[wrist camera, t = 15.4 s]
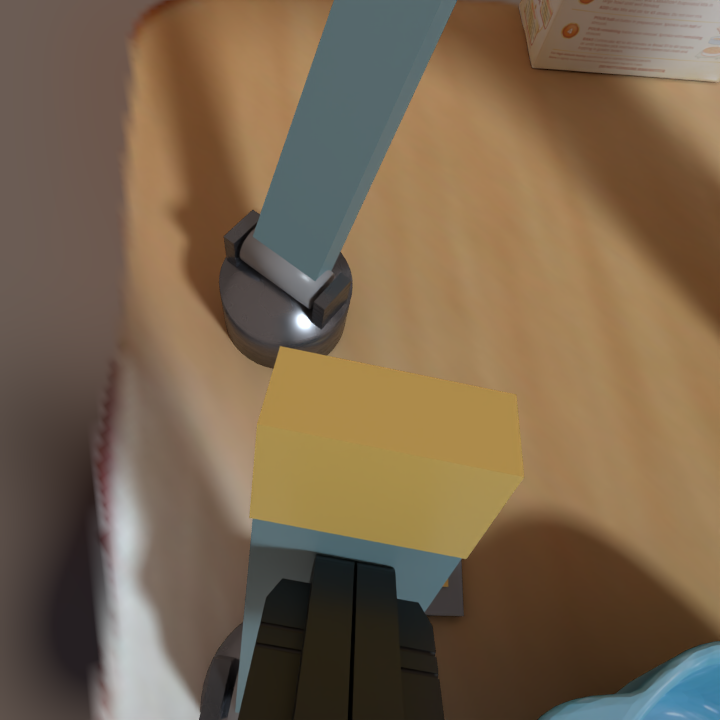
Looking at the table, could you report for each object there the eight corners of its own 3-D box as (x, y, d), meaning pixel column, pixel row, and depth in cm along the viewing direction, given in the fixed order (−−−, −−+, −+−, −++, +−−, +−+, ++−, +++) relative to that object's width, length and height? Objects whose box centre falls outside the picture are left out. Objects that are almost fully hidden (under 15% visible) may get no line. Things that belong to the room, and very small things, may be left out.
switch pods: (227, 262, 33) (218, 198, 28) (343, 265, 34) (355, 203, 29) (205, 788, 23) (185, 834, 18) (368, 772, 24) (392, 812, 19)
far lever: (302, 315, 27) (515, -156, 16) (235, 265, 28) (397, -221, 17) (324, 299, 29) (532, -140, 18) (260, 253, 29) (424, -200, 18)
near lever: (339, 752, 21) (536, 495, 8) (225, 733, 20) (241, 436, 8) (347, 689, 22) (524, 384, 9) (240, 670, 22) (274, 332, 9)
